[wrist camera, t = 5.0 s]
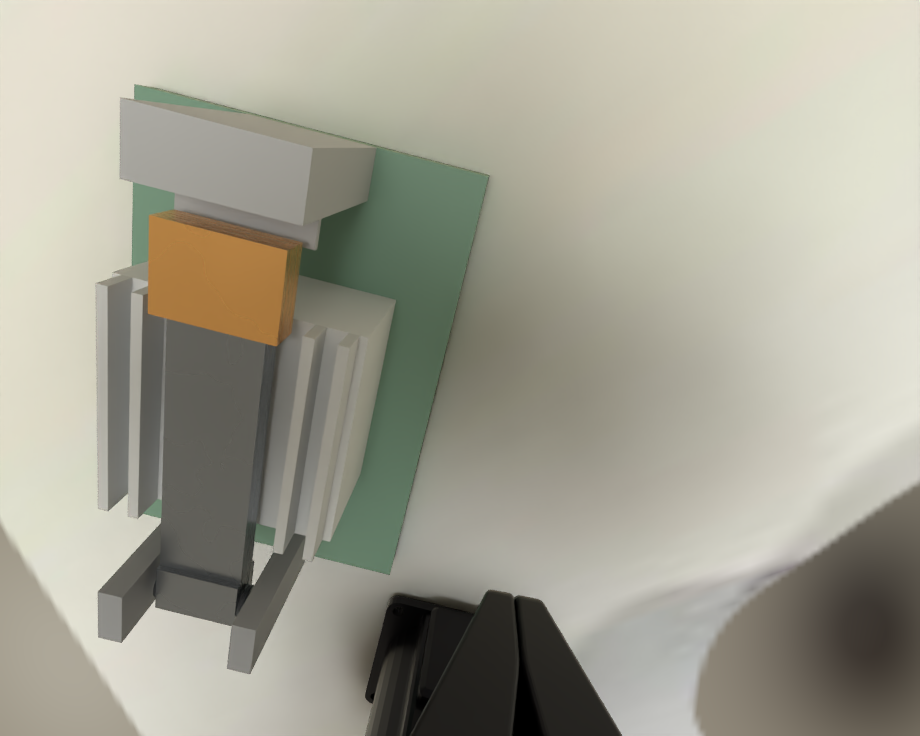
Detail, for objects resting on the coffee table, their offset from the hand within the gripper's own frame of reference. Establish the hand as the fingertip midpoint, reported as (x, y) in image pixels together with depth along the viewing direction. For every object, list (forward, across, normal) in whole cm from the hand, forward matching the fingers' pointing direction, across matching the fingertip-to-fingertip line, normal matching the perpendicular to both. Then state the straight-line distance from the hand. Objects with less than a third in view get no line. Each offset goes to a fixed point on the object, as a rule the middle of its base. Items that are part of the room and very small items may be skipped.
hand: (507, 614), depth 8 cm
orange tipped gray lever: (+7, +8, +2) cm, 11 cm away
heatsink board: (+12, +8, +2) cm, 15 cm away
